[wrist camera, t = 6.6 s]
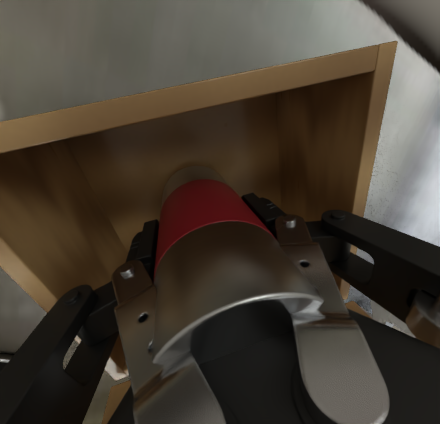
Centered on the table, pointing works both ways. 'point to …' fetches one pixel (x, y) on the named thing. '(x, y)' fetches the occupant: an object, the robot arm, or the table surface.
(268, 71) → the chest
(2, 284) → the table surface
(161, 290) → the can
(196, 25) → the table surface
